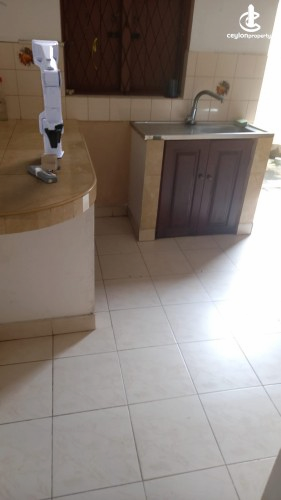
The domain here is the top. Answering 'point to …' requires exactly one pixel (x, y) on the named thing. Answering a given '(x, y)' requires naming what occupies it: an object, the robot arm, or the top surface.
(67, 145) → the top surface
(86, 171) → the top surface
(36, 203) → the top surface
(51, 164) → the walnut cube
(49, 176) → the handgun
